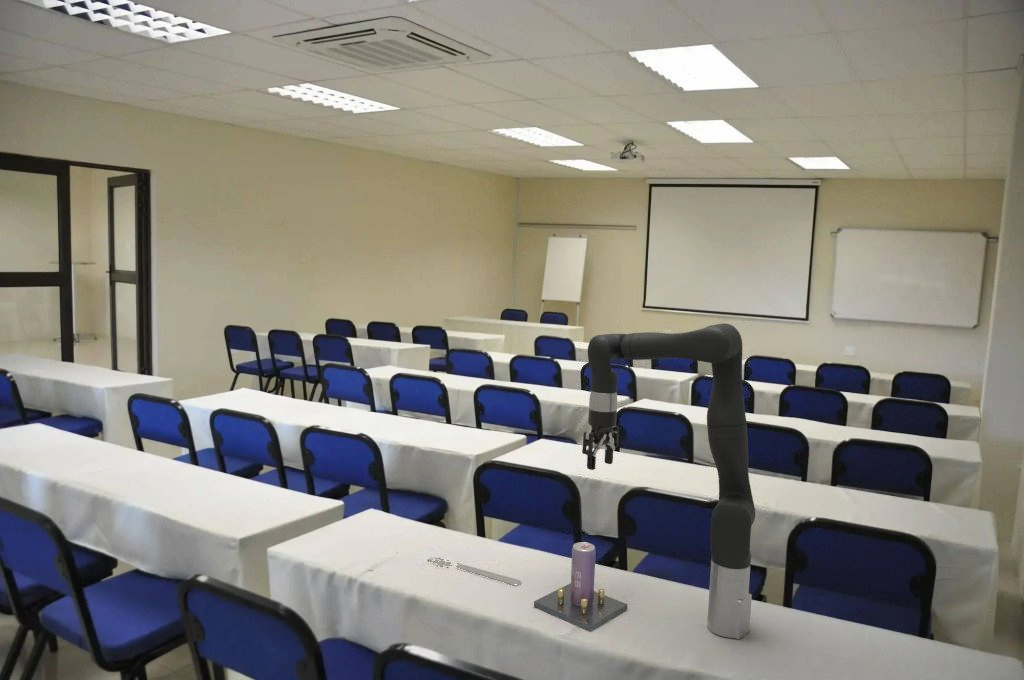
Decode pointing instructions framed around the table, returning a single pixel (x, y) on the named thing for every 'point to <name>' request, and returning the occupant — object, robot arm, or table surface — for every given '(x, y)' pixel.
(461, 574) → the table surface
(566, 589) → the chassis plate
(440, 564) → the wrench
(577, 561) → the beverage can
